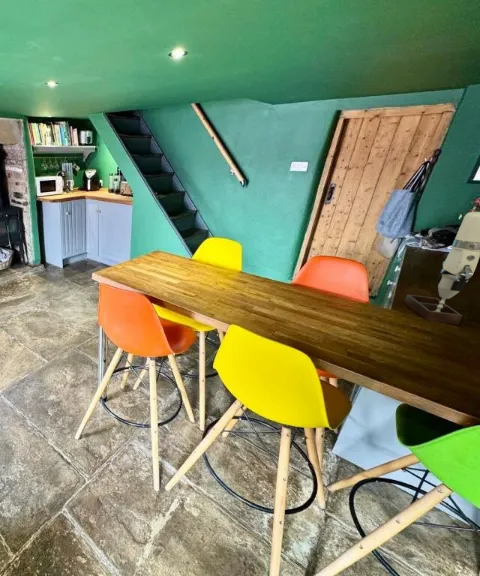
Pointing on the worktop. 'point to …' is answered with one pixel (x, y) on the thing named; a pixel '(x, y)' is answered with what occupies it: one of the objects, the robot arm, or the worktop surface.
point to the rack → (432, 309)
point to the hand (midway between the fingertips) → (448, 286)
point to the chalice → (446, 289)
